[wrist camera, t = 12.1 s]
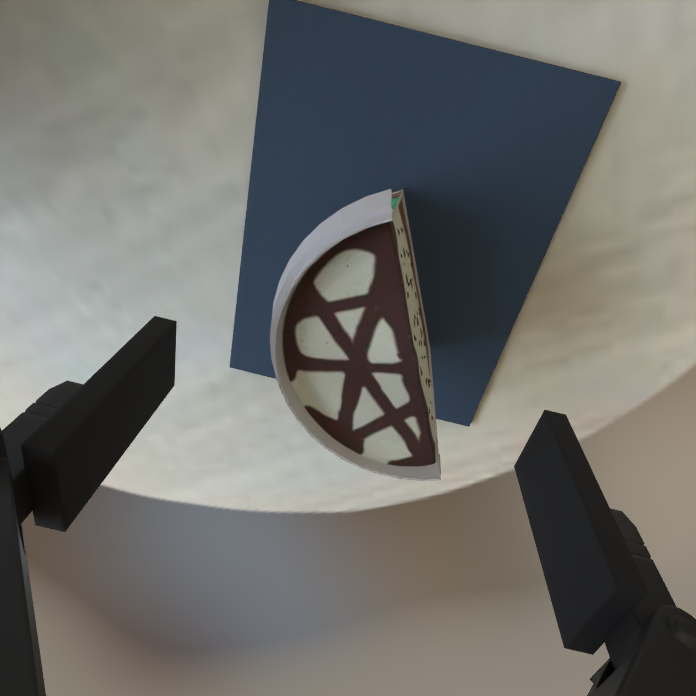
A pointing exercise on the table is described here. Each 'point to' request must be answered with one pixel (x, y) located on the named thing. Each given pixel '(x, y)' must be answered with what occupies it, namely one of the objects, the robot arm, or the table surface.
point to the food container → (359, 341)
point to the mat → (414, 173)
